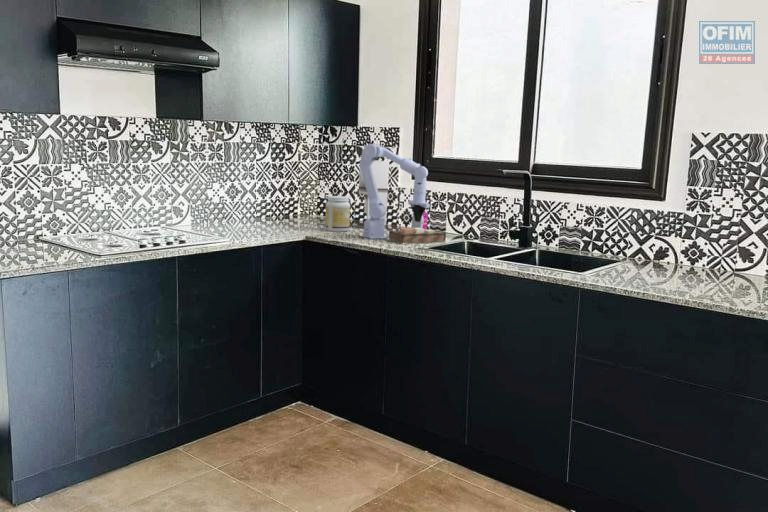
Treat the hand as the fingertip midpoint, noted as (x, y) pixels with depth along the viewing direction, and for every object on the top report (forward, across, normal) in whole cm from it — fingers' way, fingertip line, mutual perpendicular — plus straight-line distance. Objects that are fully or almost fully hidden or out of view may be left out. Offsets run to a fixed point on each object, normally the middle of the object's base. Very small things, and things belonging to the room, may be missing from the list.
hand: (417, 221), depth 323 cm
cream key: (+7, 0, 0) cm, 7 cm away
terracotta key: (+7, 0, +6) cm, 9 cm away
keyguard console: (+9, 0, 0) cm, 9 cm away
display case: (+10, +44, -2) cm, 45 cm away
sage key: (+8, 0, -7) cm, 10 cm away
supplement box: (+10, +16, -12) cm, 22 cm away
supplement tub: (+10, +39, +21) cm, 46 cm away
